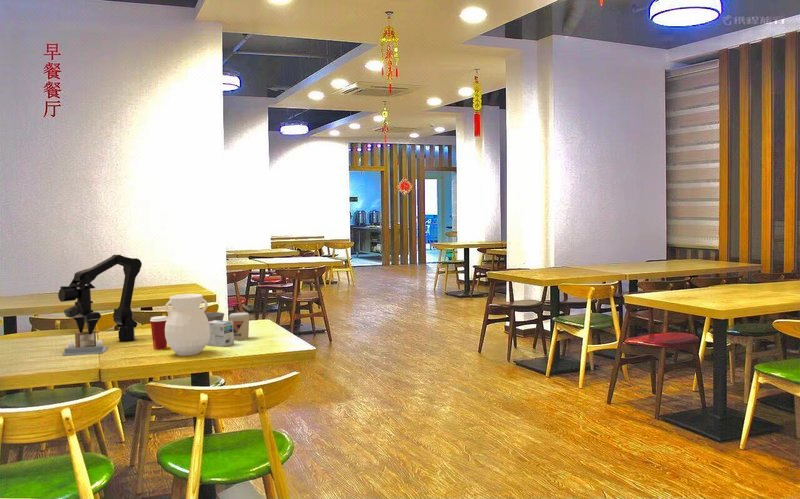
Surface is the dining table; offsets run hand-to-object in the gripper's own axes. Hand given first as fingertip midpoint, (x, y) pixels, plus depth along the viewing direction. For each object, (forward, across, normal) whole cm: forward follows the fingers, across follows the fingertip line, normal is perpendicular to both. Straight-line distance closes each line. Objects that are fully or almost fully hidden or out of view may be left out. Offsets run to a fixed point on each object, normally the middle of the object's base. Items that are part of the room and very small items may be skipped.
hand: (85, 333), depth 308 cm
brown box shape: (+6, 0, 0) cm, 7 cm away
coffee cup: (+7, +42, +54) cm, 68 cm away
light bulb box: (+7, +46, +40) cm, 61 cm away
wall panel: (+6, +11, -5) cm, 13 cm away
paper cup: (+7, +30, +19) cm, 36 cm away
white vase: (+7, +52, +20) cm, 56 cm away
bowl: (+7, +15, +52) cm, 54 cm away
